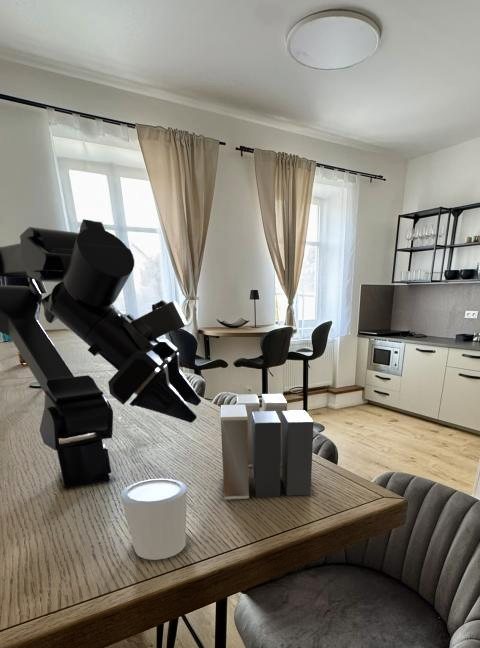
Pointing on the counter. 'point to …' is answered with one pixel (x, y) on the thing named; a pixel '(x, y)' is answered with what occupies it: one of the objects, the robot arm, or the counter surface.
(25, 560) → the counter surface
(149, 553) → the white cup
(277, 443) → the tall grey rectangular block
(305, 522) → the counter surface
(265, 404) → the white book
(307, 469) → the grey book
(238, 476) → the tall cream square pillar
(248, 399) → the grey tall rectangular block
